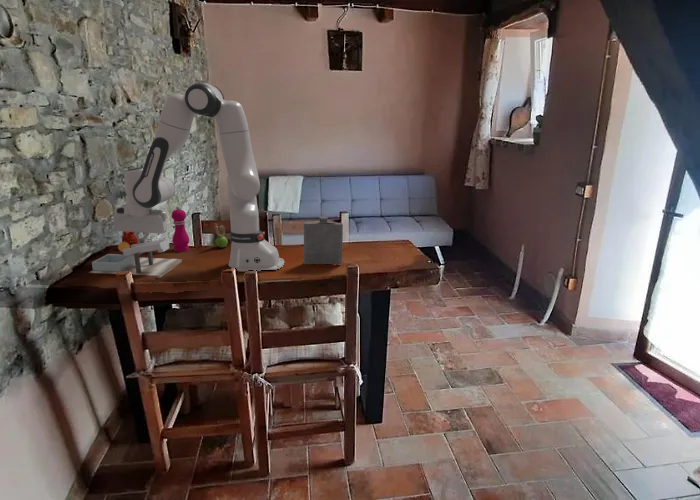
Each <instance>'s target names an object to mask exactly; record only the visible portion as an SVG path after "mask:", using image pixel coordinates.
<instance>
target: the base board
mask: <svg viewBox="0 0 700 500" xmlns="http://www.w3.org/2000/svg"><path fill="white" fill-rule="evenodd" d="M133 255H134V259H135V264H133V265H132V266H130V267H128V268H127V269H125V270H123V271H132V274H133V275H136V276H152V277H153V276H155V277H154V278H155V279H161V278H163V276H164V275H166V274H167V273H169V272H170V271H171V270H173V269H174V268H175V267H177V266H178V265H179V264H181V263H182V262H183V258H163V257H161V258H160V257H158V258H157V257H154V256H153V251H149V252H147V257H140V255H139V253H135V254H133ZM88 273H89V274H108V275H110V274H112V275H113V274H115V275H117V274H116V273H117V272H102V271H93V269H92V270H91V271H89V272H88Z"/></svg>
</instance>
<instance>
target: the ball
mask: <svg viewBox="0 0 700 500" xmlns="http://www.w3.org/2000/svg"><path fill="white" fill-rule="evenodd" d="M117 248H118V250H119V252H121V253H123V251H122V249H127V248H130V245H129V244H128V243H127V242H122V241H121V242H120V243H119V244H118V246H117Z"/></svg>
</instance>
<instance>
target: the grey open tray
mask: <svg viewBox="0 0 700 500" xmlns="http://www.w3.org/2000/svg"><path fill="white" fill-rule="evenodd" d="M133 264H135V259H134V254H131V255H126V256H124V254H117V253H107V254H105V255H103V256H101V257H100V258H97V259H95V260H93V261H91V266H92V270H93V271H102V272H119V271H123V270H125V269H127V268H128V267H130V266H132V265H133Z"/></svg>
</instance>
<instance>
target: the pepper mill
mask: <svg viewBox="0 0 700 500" xmlns="http://www.w3.org/2000/svg"><path fill="white" fill-rule="evenodd" d="M186 217H187V213H186V211H185V210H183V209H181V206H180V205H177V206H176V207H175V209H174V210H173V211H172V212H171V219H172V220H173V225H174V232H173V235H172V244H173V245H174V246H173V248H174V249H173V250H174V252H177V253H183V252H188V251H189V250H190V245H188V244H189V243H190V237H189V234H188V233H187V231H186V227H185V224H186Z"/></svg>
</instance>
